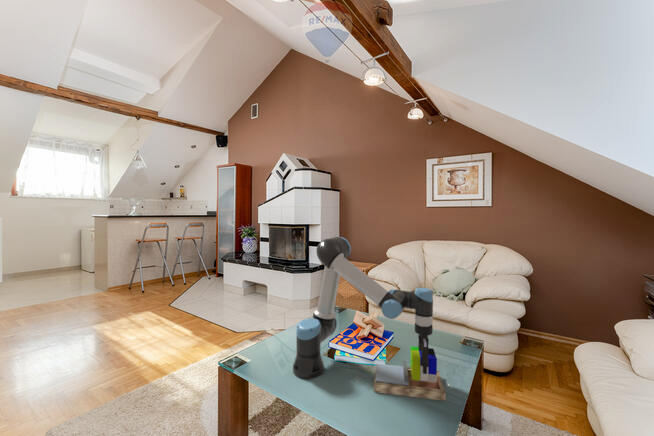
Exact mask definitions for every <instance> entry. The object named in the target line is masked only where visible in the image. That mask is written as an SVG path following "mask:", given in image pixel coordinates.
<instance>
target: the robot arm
mask: <svg viewBox="0 0 654 436" xmlns="http://www.w3.org/2000/svg"><path fill="white" fill-rule="evenodd" d="M315 253H316V256H317V259H318V261H319V262H321V264H322V265H323V266H324V269H323V274H322V275H323V276H322V281H321V287H320V291H319V297H318V303H317V307H316V308H315V309H314V310H313V315H312V317H308V318H306V319H301V321H299V322H298V323H297V326H296V331H295V334H296V335H295V336H296V355H295V358H294V360H293V363H292V364H293V365H292V373H293V374H294V375H295V376H296V377H298V378H301V379H314V378H317V377H320V376H322V374H323V373H324V372H325V363H324V361H323V358H322V353H321V345H322V343H323V342H324V341H325V340H327V339H328V338H329V337H331V336H332V335H333V334H334V333H335V331H336V330H337V326H338V320H337V318H336V312H335V311H334V310H335V306H336V300H337V295H338V290H339V289H338V288H339V283H340V280H341V279H340V278H343V279H344V280H346V282H348V283H350V284H351V286H353V287H354V288H355V289H357V291H359V292H361V293H362V294H363V295H364V296H365V297H366V298H368V299H369V300H370V301H372V303H374V304H375V305H376V306H377V307H379V308H380V309H381V312H382V314H383V316H384V317H385V318H387V319H389V320H390V319H391V320H393V319H394V320H395V319H397V318H398V317H399V316H400V315H401V314H402V313H403V311H404V310H405V309H408V310H414V332H415V333H416V334H418V342H417V344H418V345H417V347H419V348H421V357H422V364H420V366H421V380H425V381H428V367H429V358H428V348H429V342H430V341H429V340H430V339H429V336H432V334H433V329H434V328H433V327H434V326H433V320H434V319H435V317H434V316H433V315H434V313H433V312H434V311H433V310H434V297H433V296H434V295H433V291H432V289H431V288H427V287H417V288H415V289H414V291H408V290H402V289H401V290H400V289H389V291H388V290H387V289H386V288H385V287H384V286H382V285H380V283H378V282H377V281H375V279H373V278H371V277H370V276H369V275H368V274H366V273H365V272H364V271H363V270H362V269H360V268H359V267H358V266H356V265H355V264H353V263H352V262H351V261H349V259H347V258H348V257H349V256H350V255H351V253H352V246H351V243H350V242H349V241H348V239H346V238H345V237H343V236H334V237H331V238H330V237H329V238H325V239H323V240H321V241H320V242H319V243H318V244H317V246H316V252H315Z"/></svg>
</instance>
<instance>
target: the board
mask: <svg viewBox="0 0 654 436" xmlns="http://www.w3.org/2000/svg"><path fill="white" fill-rule="evenodd" d="M377 364H378V363H375V366H374V367H375V368H374V369H375V370H374V381H373V382H374V383H373V392H374V393H381V394H388V395H396V396H404V397H412V398H420V399H426V400H427V399H428V400H436V401H442V402H444V401H446V397H447V395H446V390H445V388H444V385H443V381H442V378H441V374H440V372H439V370H438V369H437V383H436V382H427V381H418V380H412V375H411V368H410V367H409V366H407V370H408V381H409V386H408V385H399V384H391V383H382V382H376V366H377Z"/></svg>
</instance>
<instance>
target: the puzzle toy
mask: <svg viewBox="0 0 654 436" xmlns="http://www.w3.org/2000/svg"><path fill="white" fill-rule="evenodd" d="M428 358H429V367H428V381H427V382H436V383H437V370H438V369H437V367H438V359H437V356H436V353H435V349H434V348H431V347H428ZM409 364H410V368H411V375H412V380H418V381H425V380H421V366H420V364H422V357H421V348H419V347H418V346H410V363H409Z"/></svg>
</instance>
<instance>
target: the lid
mask: <svg viewBox="0 0 654 436" xmlns="http://www.w3.org/2000/svg"><path fill="white" fill-rule="evenodd" d="M376 364H377V366H376V365H375V366H376V382H382V383H391V384H399V385H408V386H409V381H408V370H407V367H408V363H407V361H406V360H405V361H402V365H392V364H383V363H376Z"/></svg>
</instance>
